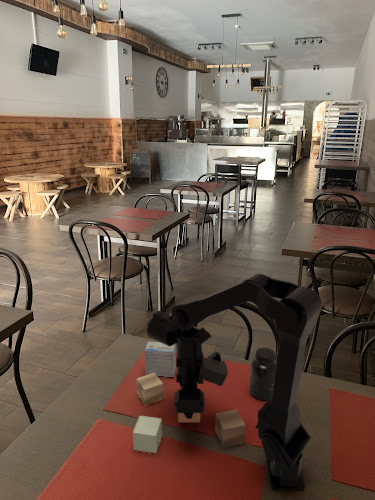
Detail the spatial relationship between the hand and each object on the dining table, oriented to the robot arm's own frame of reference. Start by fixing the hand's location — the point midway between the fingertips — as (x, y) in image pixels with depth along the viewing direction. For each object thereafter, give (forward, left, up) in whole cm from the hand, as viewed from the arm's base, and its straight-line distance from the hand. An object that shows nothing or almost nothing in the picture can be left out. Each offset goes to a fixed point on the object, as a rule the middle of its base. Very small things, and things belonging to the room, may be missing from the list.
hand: (189, 410), depth 91 cm
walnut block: (-5, -9, -3) cm, 11 cm away
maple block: (+8, +10, -3) cm, 13 cm away
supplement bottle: (+10, -19, -3) cm, 22 cm away
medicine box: (+18, +8, -3) cm, 20 cm away
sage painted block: (-7, +9, -3) cm, 12 cm away
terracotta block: (0, 0, -1) cm, 1 cm away
